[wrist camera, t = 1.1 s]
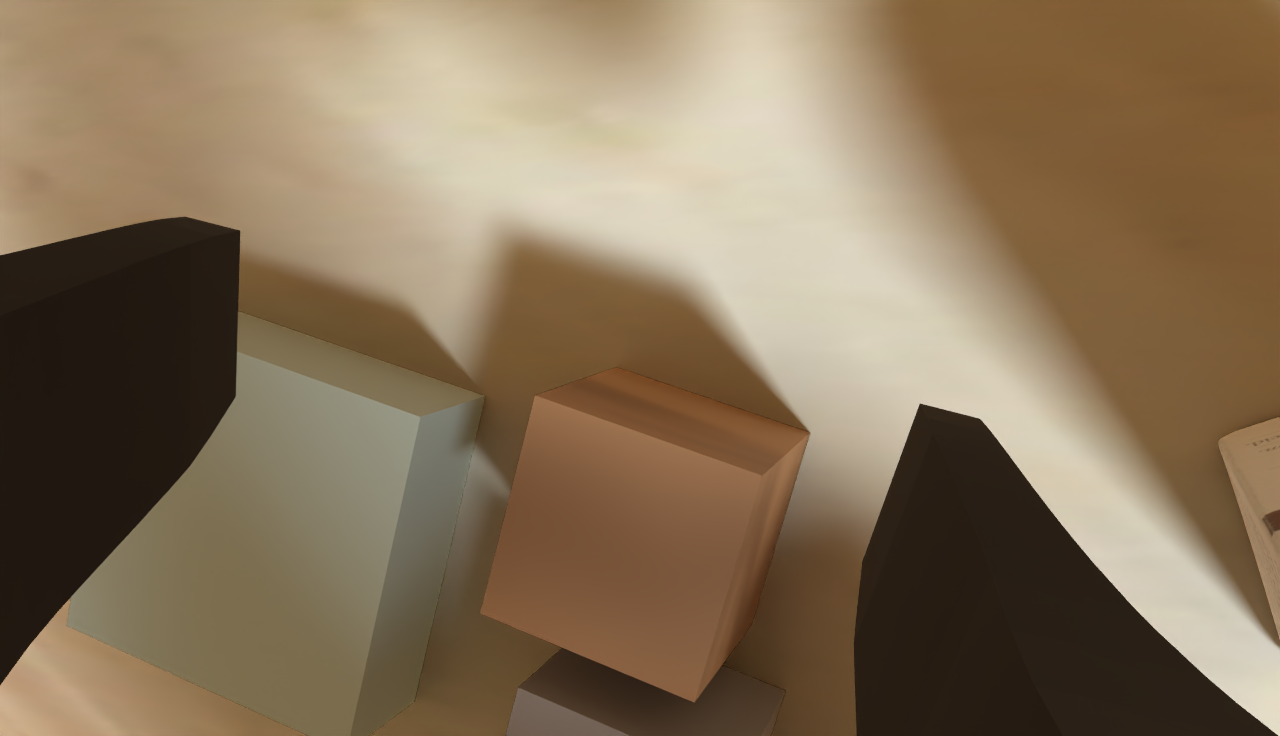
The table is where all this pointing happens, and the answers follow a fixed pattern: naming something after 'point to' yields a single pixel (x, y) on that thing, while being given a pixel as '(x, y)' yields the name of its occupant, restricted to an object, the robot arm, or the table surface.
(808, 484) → the table surface
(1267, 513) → the skincare box
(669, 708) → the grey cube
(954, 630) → the robot arm
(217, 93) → the table surface
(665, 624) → the walnut cube
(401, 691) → the base block
